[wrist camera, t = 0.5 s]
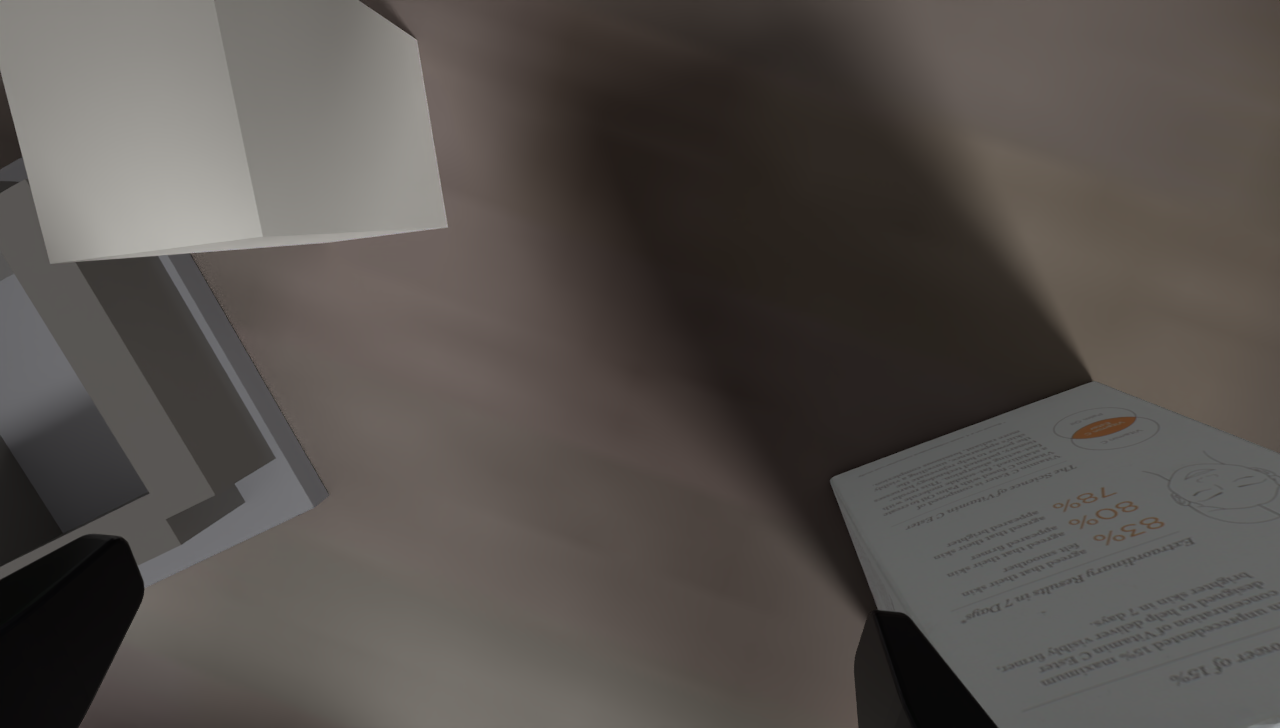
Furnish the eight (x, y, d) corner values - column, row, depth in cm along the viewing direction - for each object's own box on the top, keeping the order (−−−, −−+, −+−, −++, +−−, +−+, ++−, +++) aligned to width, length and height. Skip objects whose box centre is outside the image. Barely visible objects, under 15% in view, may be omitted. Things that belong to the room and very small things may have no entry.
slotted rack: (329, 495, 24) (260, 551, 20) (86, 610, 25) (-26, 685, 21) (115, 123, 22) (-9, 103, 18) (-137, 265, 23) (-305, 275, 19)
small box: (894, 660, 24) (1150, 1178, 11) (823, 474, 23) (1013, 804, 10) (1161, 572, 23) (1778, 1023, 10) (1099, 374, 22) (1695, 595, 9)
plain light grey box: (447, 227, 22) (263, 236, 12) (327, 242, 22) (50, 263, 12) (417, 39, 21) (190, -115, 11) (291, 57, 21) (-39, -78, 11)
